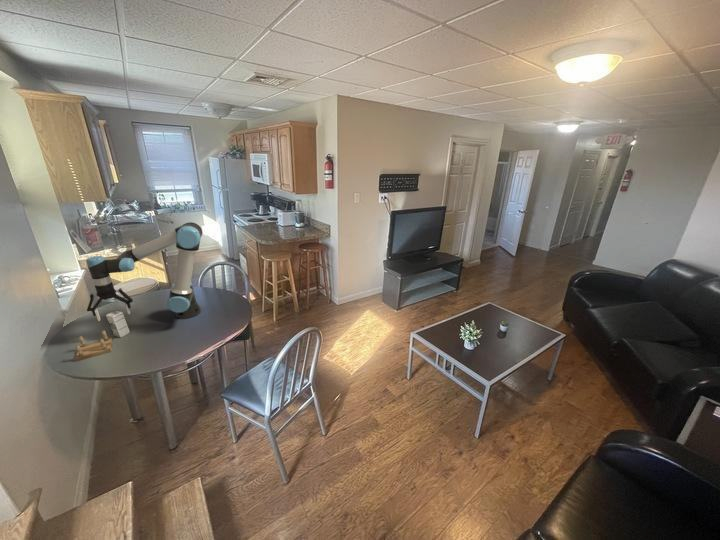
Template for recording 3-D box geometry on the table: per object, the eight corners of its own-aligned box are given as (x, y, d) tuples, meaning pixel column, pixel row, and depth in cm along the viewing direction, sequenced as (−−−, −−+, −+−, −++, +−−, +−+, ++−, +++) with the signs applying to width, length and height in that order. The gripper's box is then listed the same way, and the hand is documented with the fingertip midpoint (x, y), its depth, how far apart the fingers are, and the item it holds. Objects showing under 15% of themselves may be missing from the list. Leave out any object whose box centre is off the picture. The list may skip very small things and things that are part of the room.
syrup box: (130, 332, 173) (123, 311, 168) (120, 337, 168) (112, 316, 163) (123, 330, 175) (116, 310, 170) (113, 336, 170) (105, 314, 164)
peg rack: (80, 349, 158) (75, 337, 155) (112, 340, 166) (108, 328, 163) (76, 361, 149) (71, 348, 146) (111, 351, 157) (106, 339, 154)
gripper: (71, 291, 149) (85, 326, 157) (131, 281, 163) (140, 313, 171) (74, 286, 155) (87, 320, 163) (131, 276, 168) (141, 308, 176)
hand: (114, 316), depth 167 cm, fingers open, 13 cm apart
